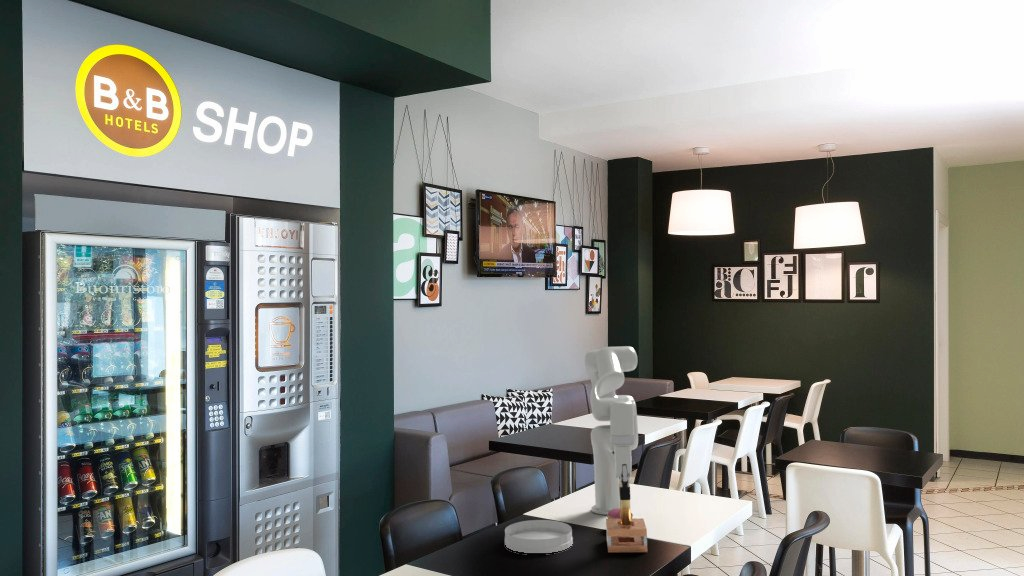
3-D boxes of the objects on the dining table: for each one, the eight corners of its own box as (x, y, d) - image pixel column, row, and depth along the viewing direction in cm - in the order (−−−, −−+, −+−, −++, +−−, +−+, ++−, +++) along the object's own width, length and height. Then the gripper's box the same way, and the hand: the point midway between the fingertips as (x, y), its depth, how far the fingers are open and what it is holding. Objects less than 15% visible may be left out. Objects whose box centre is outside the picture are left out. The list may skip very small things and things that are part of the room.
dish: (561, 558, 233) (561, 542, 233) (494, 552, 241) (493, 536, 241) (580, 537, 254) (580, 522, 254) (518, 532, 261) (517, 517, 262)
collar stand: (606, 540, 248) (606, 518, 249) (644, 540, 247) (643, 518, 248) (608, 552, 236) (607, 529, 237) (647, 552, 235) (646, 529, 236)
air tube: (620, 522, 244) (618, 465, 244) (630, 522, 243) (628, 465, 244) (620, 525, 240) (618, 467, 241) (631, 525, 240) (629, 467, 241)
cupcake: (635, 527, 262) (633, 491, 263) (630, 534, 254) (629, 497, 255) (610, 525, 265) (609, 490, 266) (605, 532, 257) (604, 496, 258)
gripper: (609, 435, 251) (611, 492, 251) (612, 444, 235) (614, 505, 234) (632, 435, 251) (634, 492, 250) (636, 444, 234) (638, 504, 234)
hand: (624, 497), depth 242 cm, fingers closed on air tube, 3 cm apart
